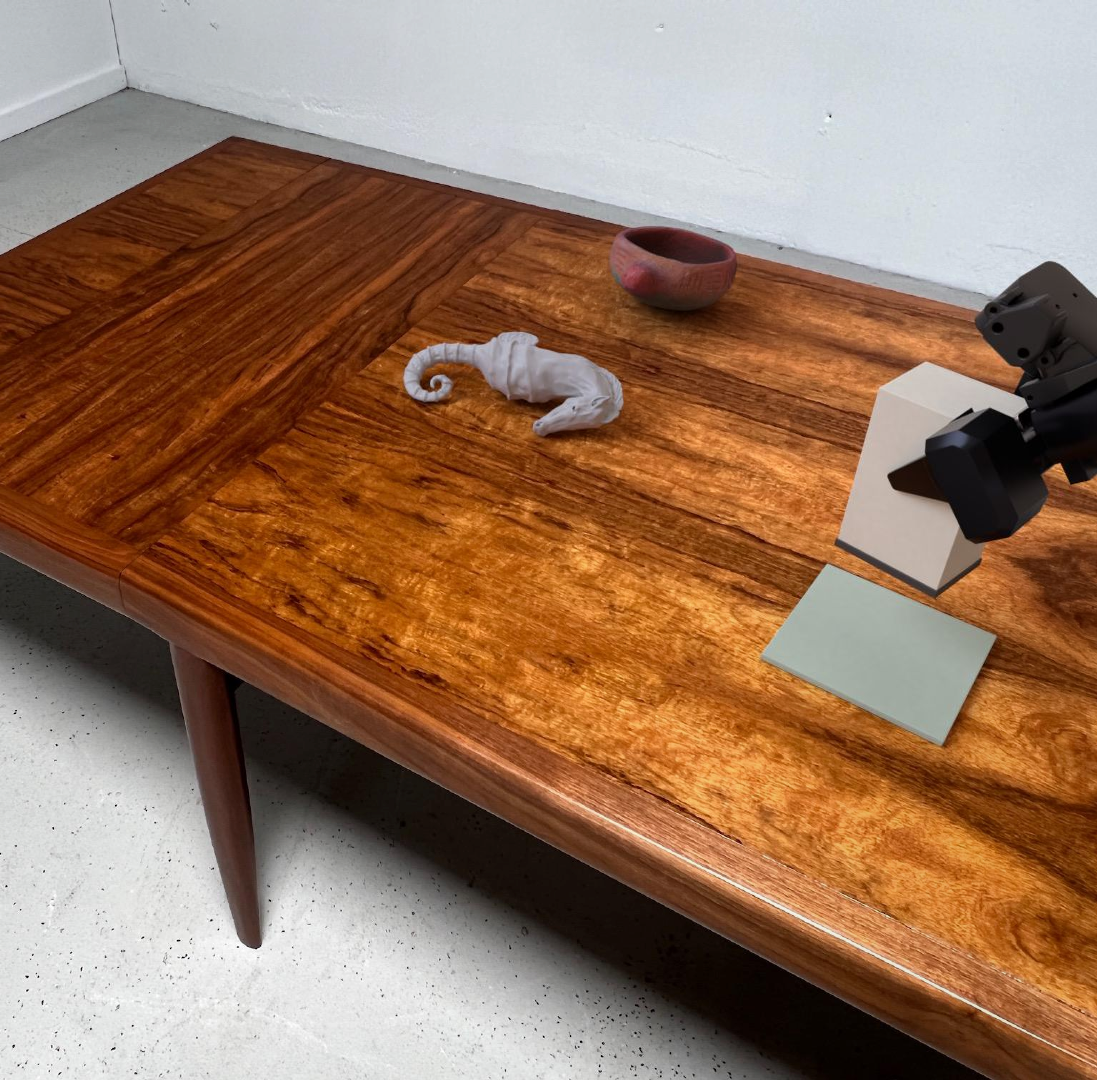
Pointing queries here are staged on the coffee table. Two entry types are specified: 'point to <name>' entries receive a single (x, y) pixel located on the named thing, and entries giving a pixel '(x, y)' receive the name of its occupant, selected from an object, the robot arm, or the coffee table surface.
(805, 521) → the coffee table surface
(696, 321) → the coffee table surface
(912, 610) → the mat
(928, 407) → the white tilted block
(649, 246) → the bowl
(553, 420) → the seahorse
